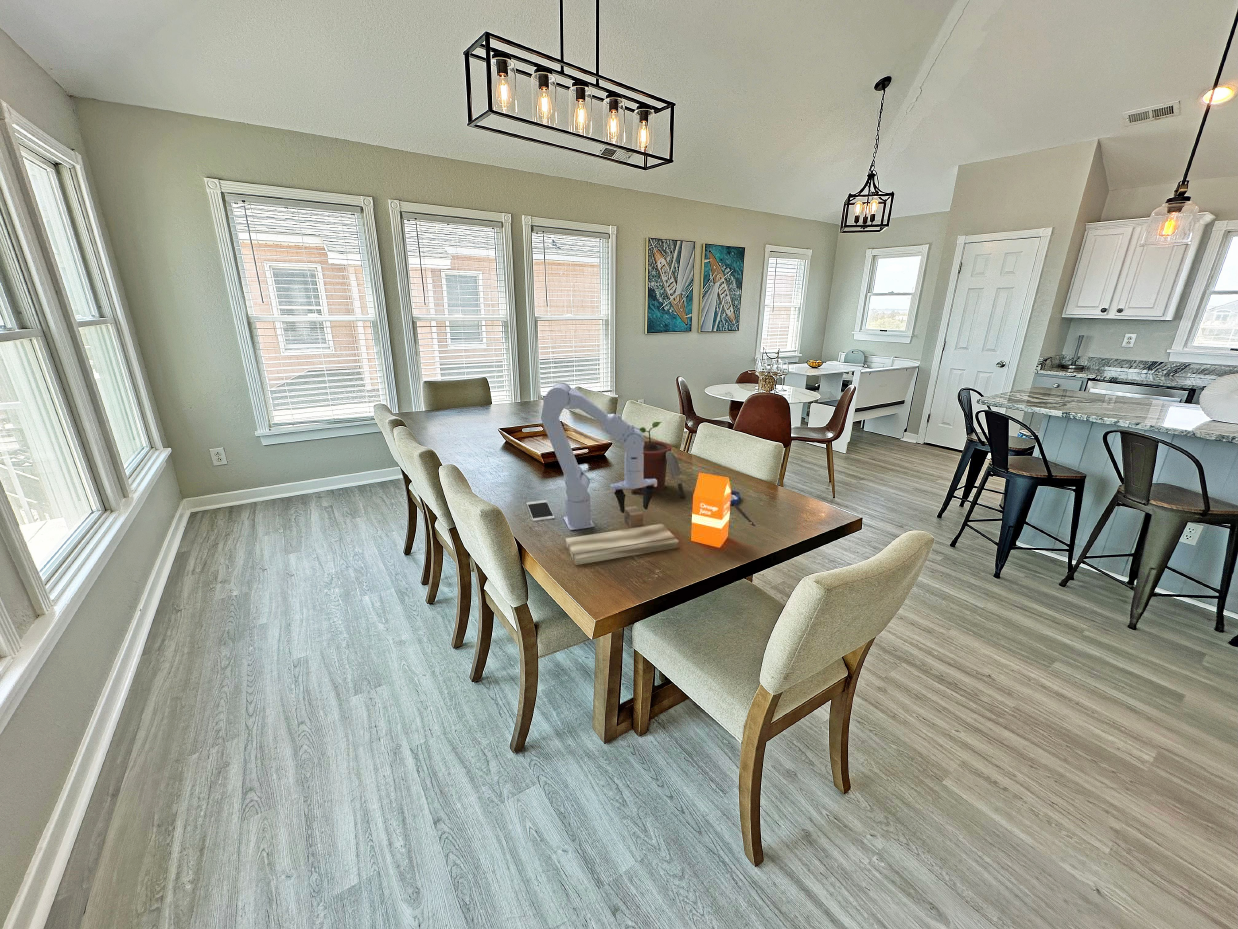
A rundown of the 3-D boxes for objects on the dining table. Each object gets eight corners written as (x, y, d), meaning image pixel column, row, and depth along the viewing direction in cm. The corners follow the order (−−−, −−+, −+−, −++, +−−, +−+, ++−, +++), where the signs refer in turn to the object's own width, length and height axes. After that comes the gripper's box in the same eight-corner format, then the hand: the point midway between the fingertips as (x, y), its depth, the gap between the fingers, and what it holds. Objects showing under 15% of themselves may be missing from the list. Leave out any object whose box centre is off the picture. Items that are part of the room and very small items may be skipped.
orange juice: (719, 547, 136) (724, 482, 130) (690, 540, 140) (693, 476, 134) (728, 536, 142) (733, 473, 136) (699, 530, 147) (703, 468, 140)
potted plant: (666, 477, 190) (668, 416, 182) (685, 498, 170) (688, 430, 162) (623, 481, 187) (623, 418, 179) (637, 502, 167) (638, 433, 159)
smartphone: (546, 502, 168) (546, 499, 168) (555, 520, 155) (555, 517, 154) (526, 504, 166) (526, 502, 166) (533, 523, 152) (532, 520, 152)
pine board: (565, 544, 138) (565, 538, 137) (661, 529, 147) (661, 523, 146) (575, 565, 127) (575, 558, 126) (678, 547, 136) (678, 541, 135)
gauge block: (624, 522, 152) (624, 507, 151) (636, 520, 154) (636, 505, 152) (632, 532, 145) (632, 517, 144) (645, 530, 147) (645, 515, 145)
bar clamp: (708, 490, 172) (735, 488, 173) (708, 496, 173) (734, 494, 174) (744, 533, 142) (776, 531, 144) (744, 540, 143) (775, 538, 145)
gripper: (651, 462, 150) (650, 502, 154) (607, 467, 146) (607, 508, 150) (660, 469, 144) (659, 510, 148) (614, 474, 139) (614, 517, 144)
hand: (633, 510), depth 149 cm, fingers open, 7 cm apart
